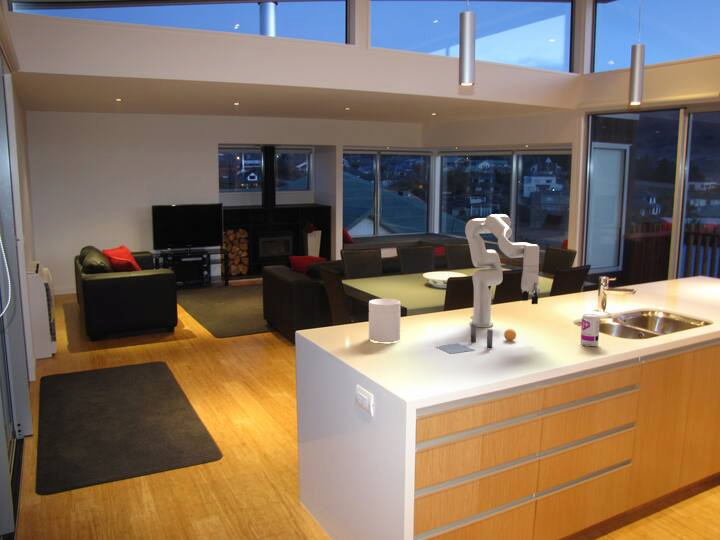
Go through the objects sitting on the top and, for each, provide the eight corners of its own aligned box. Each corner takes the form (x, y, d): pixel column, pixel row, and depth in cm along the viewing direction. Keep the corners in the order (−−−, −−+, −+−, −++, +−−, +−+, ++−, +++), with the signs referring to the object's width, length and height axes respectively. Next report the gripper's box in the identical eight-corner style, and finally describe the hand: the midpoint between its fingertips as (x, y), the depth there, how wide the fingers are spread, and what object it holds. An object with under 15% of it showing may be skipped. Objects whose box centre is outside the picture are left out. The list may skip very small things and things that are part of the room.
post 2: (485, 347, 308) (486, 329, 306) (489, 346, 309) (490, 329, 307) (488, 348, 305) (489, 330, 304) (493, 348, 306) (493, 330, 305)
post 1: (469, 341, 319) (470, 324, 318) (473, 340, 320) (474, 323, 319) (472, 342, 317) (473, 325, 316) (476, 341, 318) (477, 324, 317)
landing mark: (434, 346, 309) (434, 346, 309) (458, 343, 315) (458, 343, 315) (450, 353, 297) (450, 353, 297) (474, 350, 303) (474, 349, 303)
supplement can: (587, 347, 308) (588, 317, 305) (577, 343, 315) (578, 314, 313) (601, 346, 310) (603, 316, 308) (591, 342, 318) (592, 313, 315)
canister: (373, 345, 312) (374, 305, 309) (365, 337, 327) (365, 299, 324) (404, 343, 316) (404, 303, 313) (394, 335, 331) (394, 298, 328)
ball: (501, 339, 322) (501, 328, 321) (510, 338, 325) (511, 327, 324) (509, 342, 317) (509, 331, 316) (518, 341, 319) (518, 329, 319)
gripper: (515, 266, 324) (514, 299, 326) (532, 271, 307) (531, 305, 310) (529, 266, 326) (528, 298, 328) (546, 270, 309) (545, 305, 312)
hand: (529, 302), depth 319 cm, fingers open, 9 cm apart
